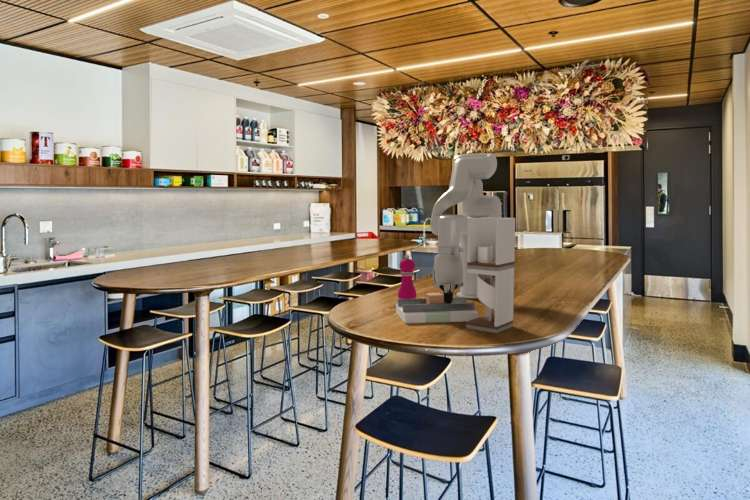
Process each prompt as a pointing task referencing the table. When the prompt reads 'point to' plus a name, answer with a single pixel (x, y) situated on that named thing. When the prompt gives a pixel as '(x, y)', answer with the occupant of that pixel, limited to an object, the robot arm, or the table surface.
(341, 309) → the table surface
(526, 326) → the table surface
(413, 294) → the pepper mill
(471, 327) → the display case
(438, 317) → the channel deck
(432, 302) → the terracotta block
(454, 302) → the channel walls
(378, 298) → the table surface
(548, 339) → the table surface
